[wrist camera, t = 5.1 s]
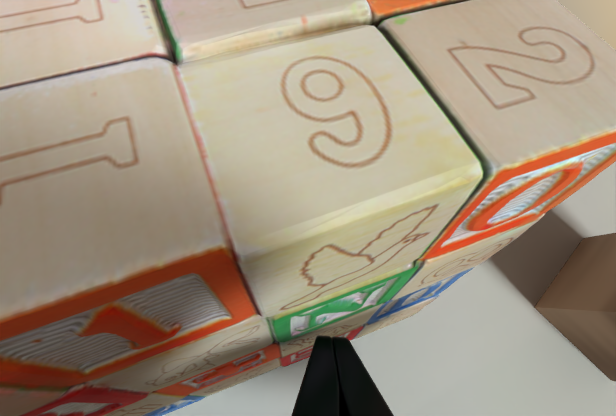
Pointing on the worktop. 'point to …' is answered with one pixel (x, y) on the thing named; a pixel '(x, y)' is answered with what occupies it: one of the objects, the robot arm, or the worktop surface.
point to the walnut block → (587, 301)
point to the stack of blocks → (265, 178)
